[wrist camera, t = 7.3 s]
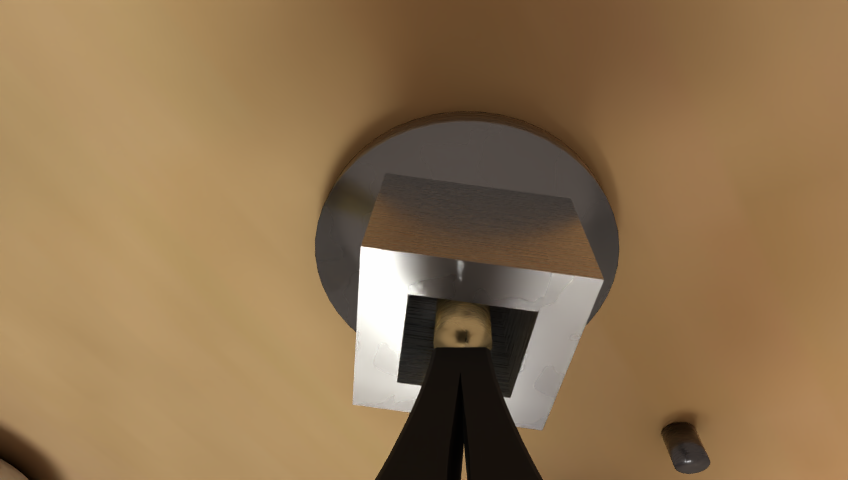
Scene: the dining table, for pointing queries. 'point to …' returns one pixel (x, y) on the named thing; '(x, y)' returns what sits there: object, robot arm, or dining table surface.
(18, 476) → the spoon rest
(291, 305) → the dining table surface
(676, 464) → the stand stub
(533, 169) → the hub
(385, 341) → the collar
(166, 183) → the dining table surface
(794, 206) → the dining table surface
